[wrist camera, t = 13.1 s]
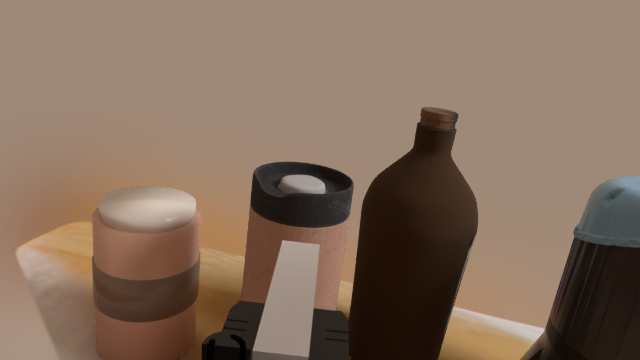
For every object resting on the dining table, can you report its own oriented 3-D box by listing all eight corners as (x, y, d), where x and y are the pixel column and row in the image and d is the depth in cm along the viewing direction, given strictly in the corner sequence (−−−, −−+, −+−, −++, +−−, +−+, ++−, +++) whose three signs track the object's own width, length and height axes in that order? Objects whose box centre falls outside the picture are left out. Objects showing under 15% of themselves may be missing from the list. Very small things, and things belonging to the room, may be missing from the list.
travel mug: (312, 362, 45) (341, 163, 39) (330, 427, 38) (369, 197, 32) (231, 366, 43) (248, 158, 37) (234, 434, 36) (256, 192, 30)
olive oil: (346, 385, 42) (394, 115, 35) (334, 316, 53) (369, 94, 45) (458, 390, 44) (528, 130, 36) (425, 322, 54) (474, 107, 46)
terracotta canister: (179, 302, 51) (184, 180, 47) (209, 353, 44) (218, 215, 40) (87, 321, 46) (83, 188, 42) (104, 383, 39) (101, 229, 35)
